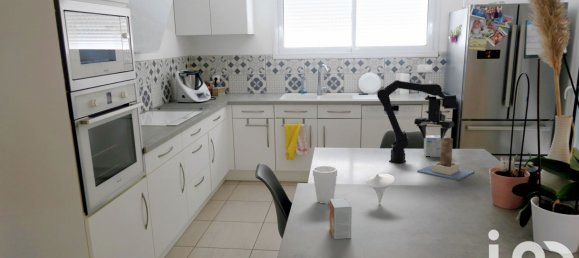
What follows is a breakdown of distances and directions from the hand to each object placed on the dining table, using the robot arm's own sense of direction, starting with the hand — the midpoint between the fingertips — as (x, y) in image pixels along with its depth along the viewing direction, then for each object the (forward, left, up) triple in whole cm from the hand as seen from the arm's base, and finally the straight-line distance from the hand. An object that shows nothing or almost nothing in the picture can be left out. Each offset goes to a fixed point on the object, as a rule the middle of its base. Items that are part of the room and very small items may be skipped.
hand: (433, 139), depth 214 cm
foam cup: (-3, -79, -12) cm, 80 cm away
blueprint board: (+13, -12, -12) cm, 21 cm away
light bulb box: (-6, +14, -12) cm, 20 cm away
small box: (+20, -98, -12) cm, 101 cm away
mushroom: (+14, -67, -12) cm, 70 cm away
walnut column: (+13, -12, -9) cm, 20 cm away
